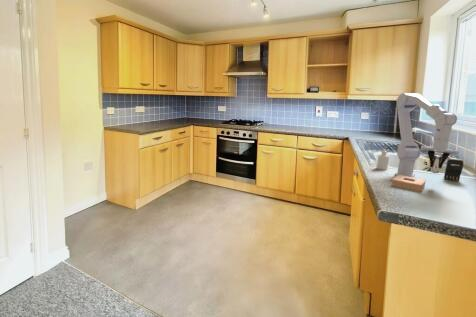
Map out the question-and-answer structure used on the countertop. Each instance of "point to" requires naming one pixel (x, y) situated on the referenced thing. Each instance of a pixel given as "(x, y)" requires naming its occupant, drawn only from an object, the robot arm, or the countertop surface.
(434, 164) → the steel peg
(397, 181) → the hole block
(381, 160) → the eye dropper bottle
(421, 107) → the robot arm
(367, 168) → the countertop surface
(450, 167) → the battery charger
